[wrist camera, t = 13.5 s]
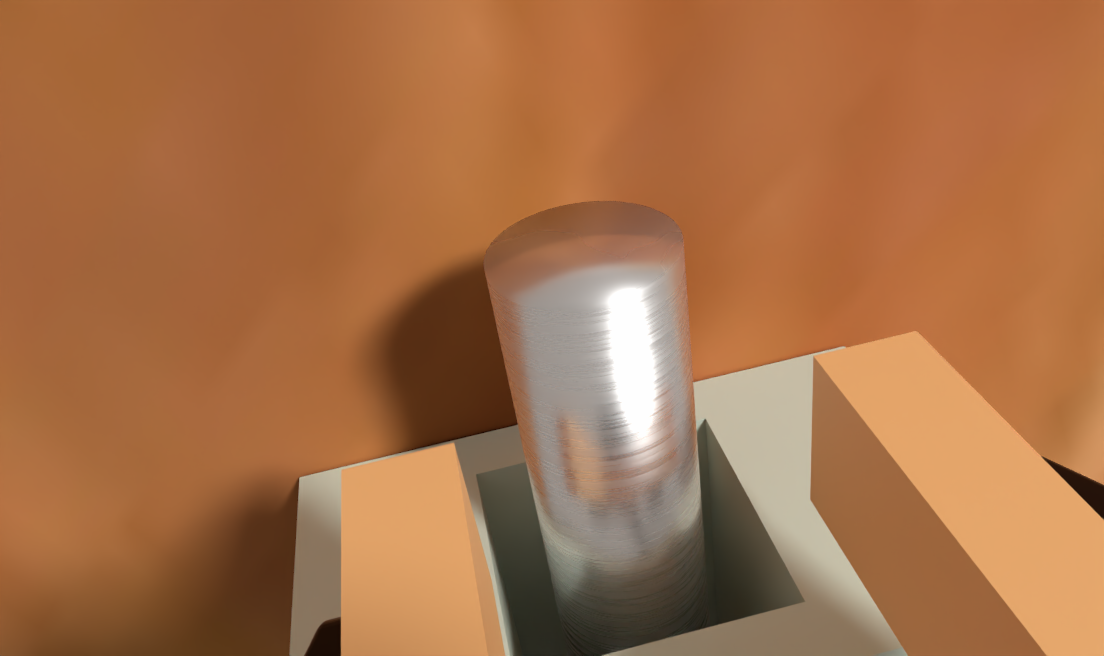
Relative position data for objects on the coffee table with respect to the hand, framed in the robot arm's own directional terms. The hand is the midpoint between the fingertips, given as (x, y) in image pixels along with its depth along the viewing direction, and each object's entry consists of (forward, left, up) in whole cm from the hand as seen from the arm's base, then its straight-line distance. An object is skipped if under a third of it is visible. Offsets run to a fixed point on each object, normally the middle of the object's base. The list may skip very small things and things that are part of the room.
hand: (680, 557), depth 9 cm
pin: (-4, 0, -5) cm, 7 cm away
